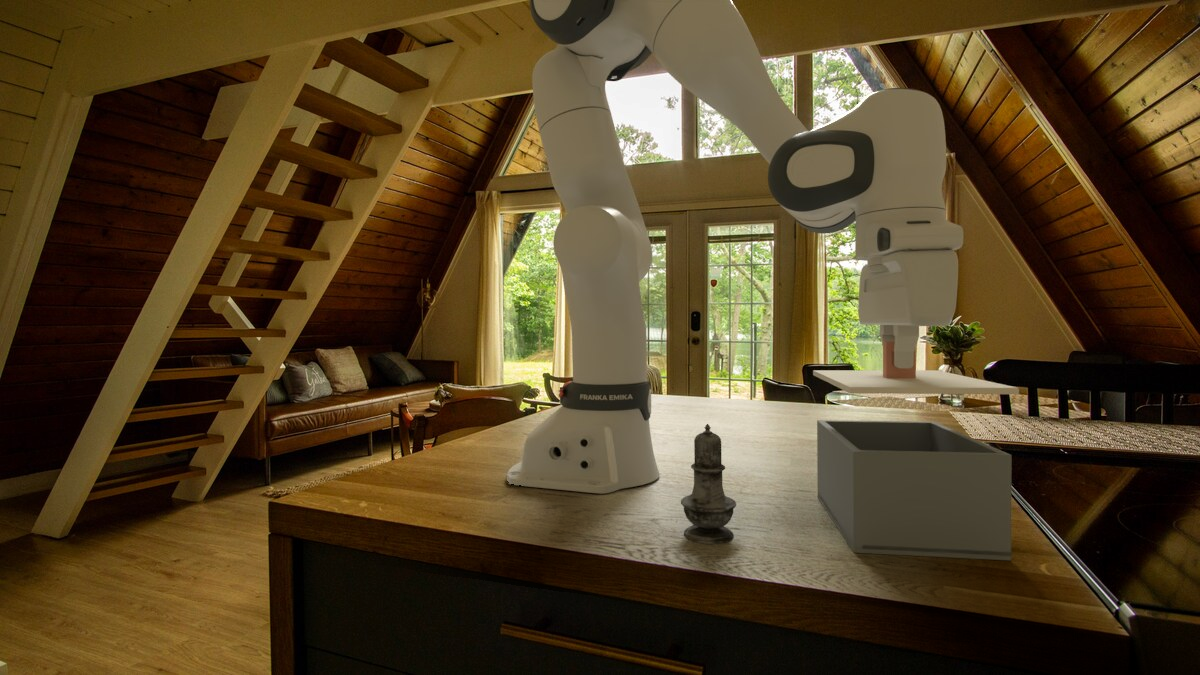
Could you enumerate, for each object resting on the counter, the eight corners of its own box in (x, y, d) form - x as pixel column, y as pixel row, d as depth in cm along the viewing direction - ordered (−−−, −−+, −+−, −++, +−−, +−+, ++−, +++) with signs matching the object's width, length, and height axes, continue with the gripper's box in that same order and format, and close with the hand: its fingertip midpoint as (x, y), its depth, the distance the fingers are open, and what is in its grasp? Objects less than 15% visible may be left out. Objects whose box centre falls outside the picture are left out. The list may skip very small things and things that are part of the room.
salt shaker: (725, 549, 58) (724, 430, 58) (672, 538, 62) (670, 425, 61) (744, 531, 63) (743, 421, 63) (693, 521, 67) (692, 417, 66)
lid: (849, 393, 56) (849, 345, 56) (813, 375, 75) (812, 339, 75) (1018, 394, 54) (1019, 344, 54) (937, 375, 72) (937, 338, 72)
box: (853, 552, 57) (853, 451, 57) (817, 497, 75) (817, 420, 75) (1011, 560, 55) (1011, 455, 54) (935, 501, 72) (935, 421, 72)
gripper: (845, 253, 75) (845, 360, 75) (898, 228, 54) (898, 375, 55) (898, 251, 74) (897, 360, 74) (972, 226, 53) (970, 376, 54)
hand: (898, 367), depth 64 cm, fingers closed on lid
